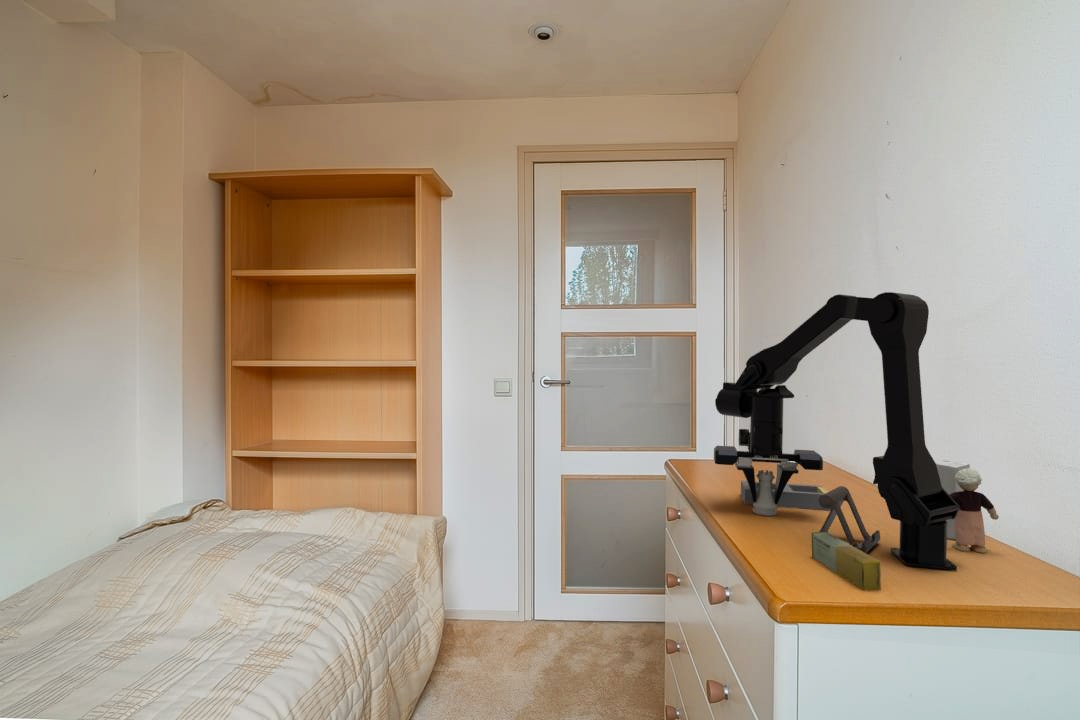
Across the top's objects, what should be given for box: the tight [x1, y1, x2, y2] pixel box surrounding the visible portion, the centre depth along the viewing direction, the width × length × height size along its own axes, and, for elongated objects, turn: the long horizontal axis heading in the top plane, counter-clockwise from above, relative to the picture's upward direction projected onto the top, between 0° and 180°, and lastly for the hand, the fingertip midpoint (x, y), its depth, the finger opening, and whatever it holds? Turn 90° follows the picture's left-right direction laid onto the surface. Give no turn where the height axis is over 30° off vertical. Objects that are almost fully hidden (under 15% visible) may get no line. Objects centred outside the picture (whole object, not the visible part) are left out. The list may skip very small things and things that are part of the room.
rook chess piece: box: [752, 469, 779, 517], centre depth 106 cm, size 4×4×8 cm
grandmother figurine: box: [950, 468, 1000, 554], centre depth 88 cm, size 8×4×13 cm, turn 84°
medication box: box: [811, 531, 882, 591], centre depth 78 cm, size 12×3×4 cm, turn 4°
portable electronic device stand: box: [819, 486, 881, 554], centre depth 89 cm, size 9×8×8 cm
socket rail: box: [740, 480, 831, 511], centre depth 115 cm, size 8×16×3 cm, turn 76°
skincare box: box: [935, 460, 971, 541], centre depth 95 cm, size 6×4×12 cm
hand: (765, 502), depth 106 cm, fingers closed on rook chess piece, 3 cm apart
